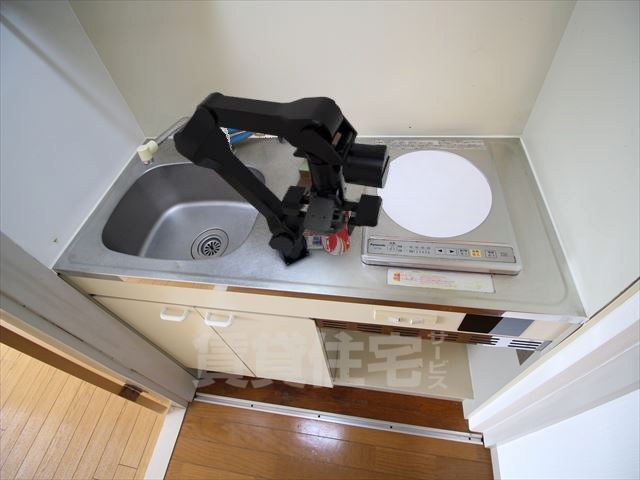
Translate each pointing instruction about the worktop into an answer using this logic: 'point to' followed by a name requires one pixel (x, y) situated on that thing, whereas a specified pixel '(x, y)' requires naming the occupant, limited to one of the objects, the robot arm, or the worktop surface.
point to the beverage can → (337, 240)
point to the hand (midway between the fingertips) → (335, 232)
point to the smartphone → (313, 240)
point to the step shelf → (304, 170)
